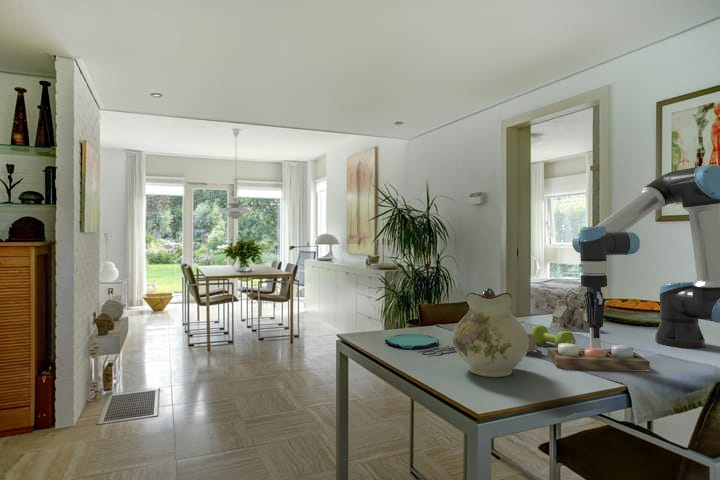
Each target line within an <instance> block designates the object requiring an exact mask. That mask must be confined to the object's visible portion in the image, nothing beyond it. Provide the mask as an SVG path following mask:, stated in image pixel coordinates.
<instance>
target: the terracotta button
mask: <svg viewBox="0 0 720 480" xmlns="http://www.w3.org/2000/svg"><path fill="white" fill-rule="evenodd" d="M584 349H585V356H589V357H606V351H605V350H603V349H604V348H591V347H586V348H584Z"/></svg>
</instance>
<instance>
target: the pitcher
mask: <svg viewBox="0 0 720 480" xmlns="http://www.w3.org/2000/svg"><path fill="white" fill-rule="evenodd" d="M465 298H466V299H465V300H466V303H467V304H468V305H469V309H468V311H467V313H466V314H465V315H464V316H463V317H461V319H460V320H459V321H458V322H457V324H456V325H455V328H454V330H453V332H452V344H453V347H455V349H454V350H456V352H455V353H456V354H457V355H458V356H459V358H460V359H461V360H462V361H463V362H464V363H465V364H466V365H467V366H468V368H469V372H471V373H472V374H475V375H477V376H481V377H486V378H502V377H503V378H504V377H507V376H510V375H512V374H513V370H514V368H515V367H517V366H518V365H519V363H520V362H521V361H523V359H524V358H525V357H526V354H528V353H527V351H528V348H529V337H528V334H527V333H528V331H527V330H526V329H525V327H524V326H523V324H522V323H521V322H520V321H519V320H518V319H517V318H516V317H515V315H513V314H512V312H511V309H510V306H511V304H512V302H513V301H512V298H513V295H512V294H511V293H509V292H503V293H499V294H495V291H494V290H493V289H492V288H491V287H487V288H485V289H484V290H483V292H481V294H479V293H476V292H469V293H467V294H466V296H465Z"/></svg>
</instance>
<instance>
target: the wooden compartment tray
mask: <svg viewBox="0 0 720 480" xmlns="http://www.w3.org/2000/svg"><path fill="white" fill-rule="evenodd" d="M546 349H547V353H546V354H547V357H548V359H549V360H550V361H551V362H552V363H553V365H554V366H555V367H556V368H557V369H579V370H602V371H603V370H604V371H625V370H651V369H650V362H651V361H650V360H648V359H646V358H644V357H643V356H641V355H640V354H638V353H636V352H635V351H633V358H618V357H613V356H612V353H611V348H610V349H609V348H608V349H606V348H602V349H603V350H605V351H606V357H589V356H585V348H579V356H560V355H559V354H558V348H557V347H547V348H546Z"/></svg>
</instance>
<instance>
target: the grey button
mask: <svg viewBox="0 0 720 480" xmlns="http://www.w3.org/2000/svg"><path fill="white" fill-rule="evenodd" d="M610 349H611V353H612V356H613V357H618V358H633V352H634V347H633V346H631V345H630V346H629V345H625V344H613V345H611V347H610Z"/></svg>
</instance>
